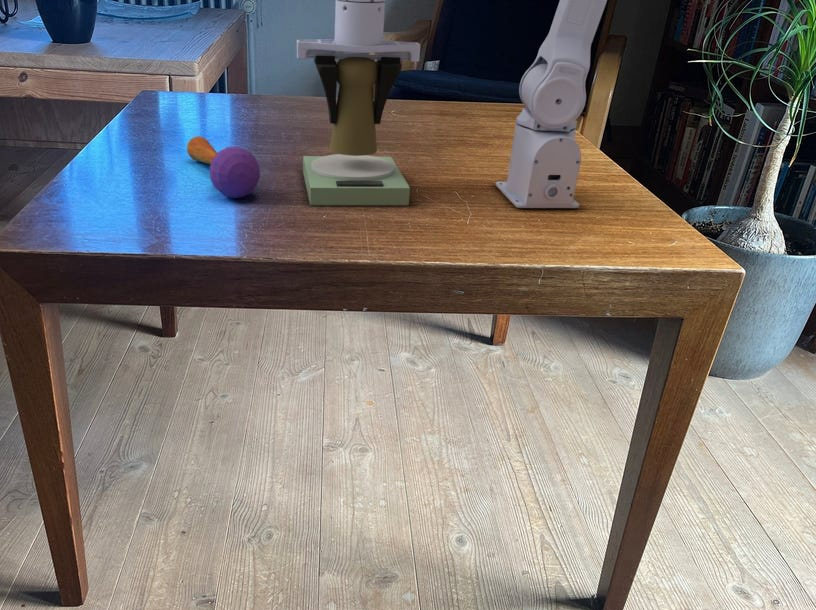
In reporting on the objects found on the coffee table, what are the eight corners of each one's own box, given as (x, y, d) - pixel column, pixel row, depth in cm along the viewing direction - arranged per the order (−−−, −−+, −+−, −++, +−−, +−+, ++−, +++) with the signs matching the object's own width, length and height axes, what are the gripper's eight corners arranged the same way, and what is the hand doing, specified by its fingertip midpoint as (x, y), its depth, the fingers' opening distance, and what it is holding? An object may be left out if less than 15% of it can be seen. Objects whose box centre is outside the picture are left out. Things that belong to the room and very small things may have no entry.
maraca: (221, 129, 102) (269, 154, 86) (217, 172, 105) (263, 205, 88) (179, 123, 100) (220, 148, 83) (175, 168, 102) (214, 200, 86)
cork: (373, 157, 90) (378, 61, 84) (324, 153, 91) (327, 58, 85) (380, 145, 95) (386, 54, 90) (334, 141, 96) (337, 51, 90)
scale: (408, 205, 89) (410, 183, 88) (310, 205, 88) (310, 183, 86) (390, 172, 101) (391, 152, 100) (303, 172, 100) (303, 152, 98)
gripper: (415, -1, 89) (406, 115, 95) (295, -5, 87) (294, 114, 94) (427, 4, 82) (417, 128, 89) (298, 1, 81) (297, 127, 88)
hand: (354, 122), depth 91 cm, fingers closed on cork, 5 cm apart
